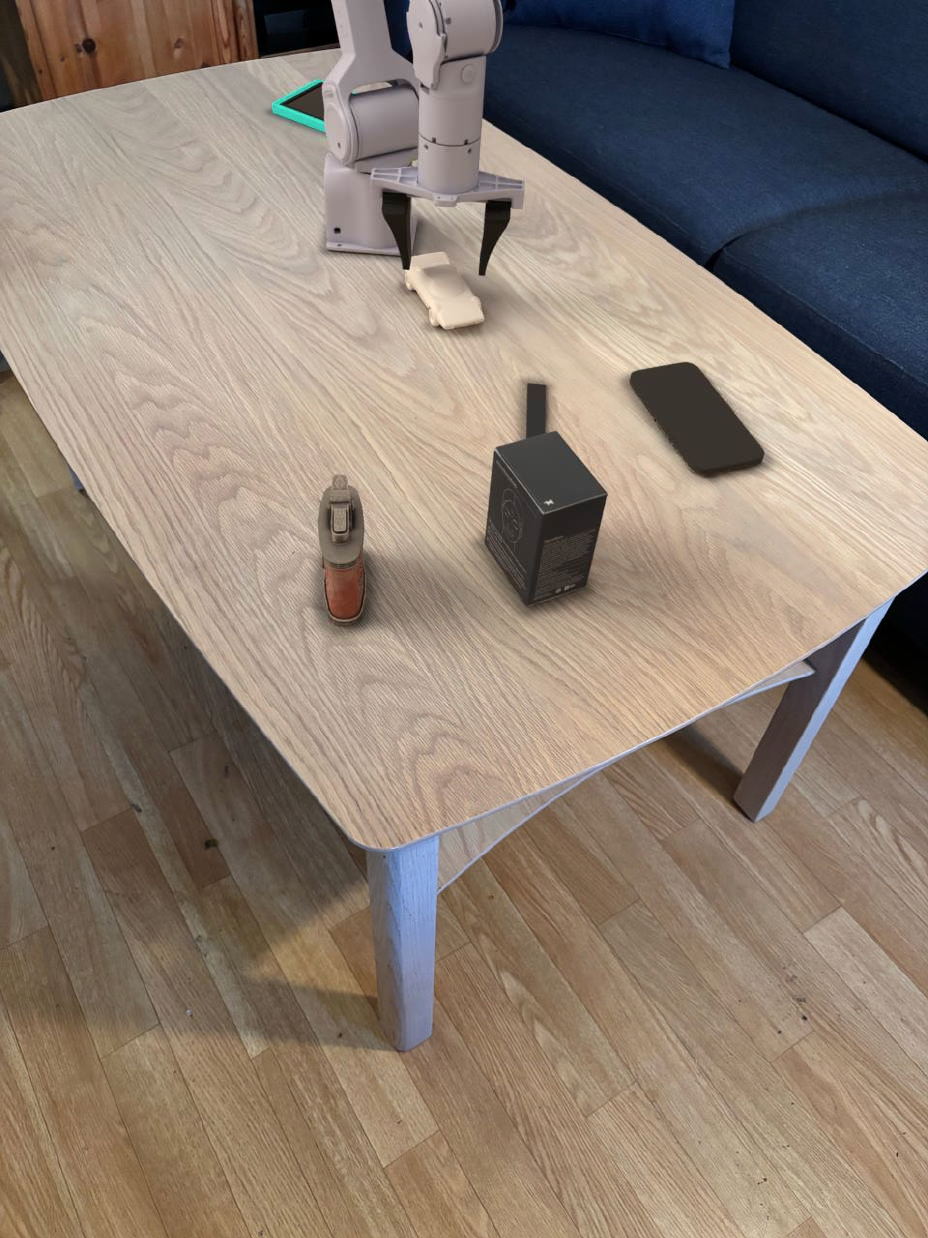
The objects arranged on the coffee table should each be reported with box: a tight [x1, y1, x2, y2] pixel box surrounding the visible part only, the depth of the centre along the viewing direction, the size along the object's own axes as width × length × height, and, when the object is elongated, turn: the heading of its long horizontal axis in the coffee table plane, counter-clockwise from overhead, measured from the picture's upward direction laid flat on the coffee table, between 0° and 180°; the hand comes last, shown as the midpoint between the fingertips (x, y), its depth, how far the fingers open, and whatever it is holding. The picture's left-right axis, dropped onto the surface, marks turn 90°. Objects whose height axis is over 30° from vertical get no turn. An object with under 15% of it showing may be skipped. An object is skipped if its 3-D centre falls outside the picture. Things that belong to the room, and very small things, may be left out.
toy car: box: [404, 251, 485, 330], centre depth 100 cm, size 6×12×3 cm, turn 23°
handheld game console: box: [271, 78, 357, 134], centre depth 126 cm, size 10×16×1 cm, turn 57°
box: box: [484, 430, 609, 607], centre depth 75 cm, size 8×6×11 cm
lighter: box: [317, 473, 368, 629], centre depth 73 cm, size 8×3×10 cm, turn 5°
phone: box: [629, 361, 766, 476], centre depth 91 cm, size 7×1×15 cm
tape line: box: [525, 382, 547, 439], centre depth 89 cm, size 2×15×1 cm, turn 177°
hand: (444, 267), depth 98 cm, fingers open, 7 cm apart
